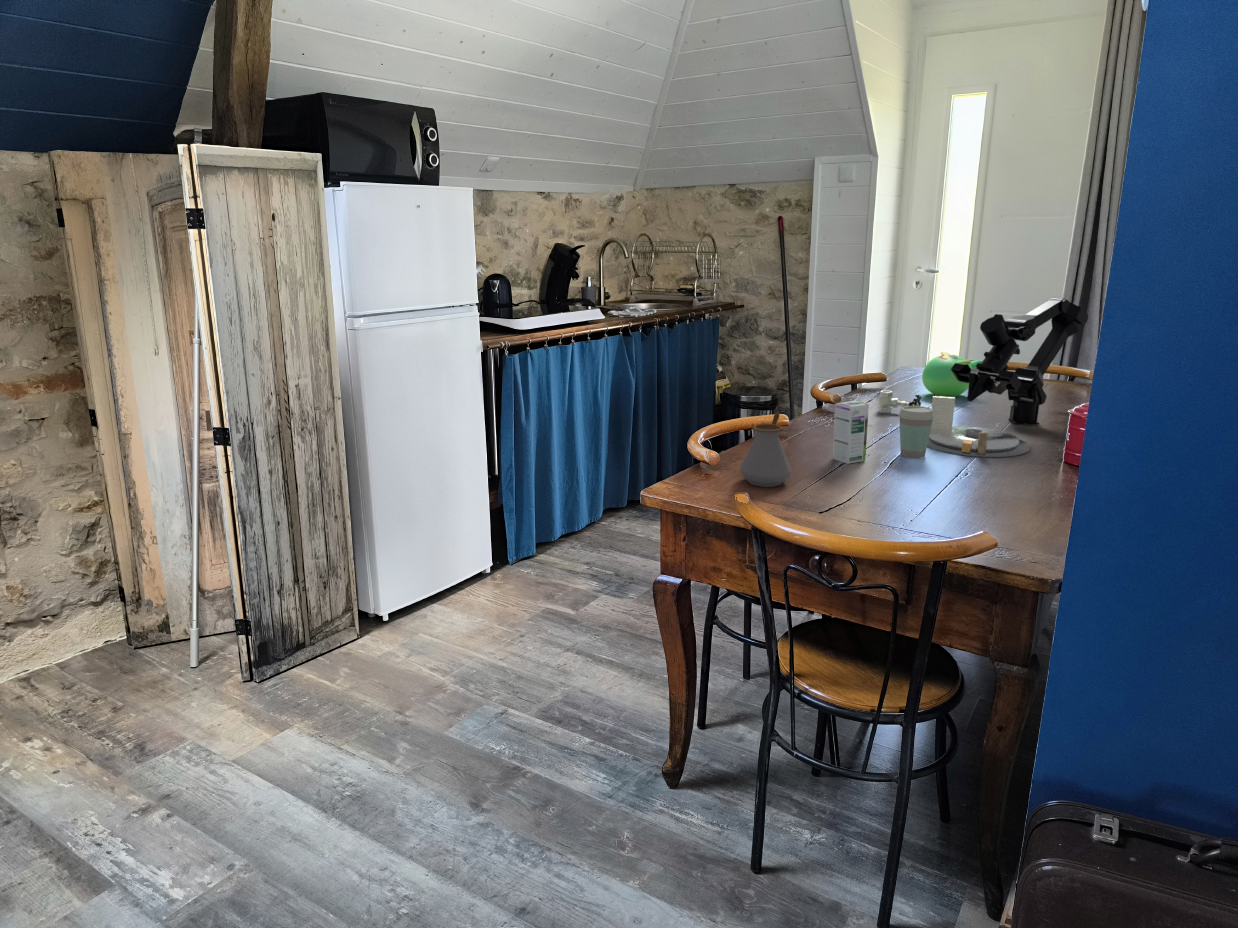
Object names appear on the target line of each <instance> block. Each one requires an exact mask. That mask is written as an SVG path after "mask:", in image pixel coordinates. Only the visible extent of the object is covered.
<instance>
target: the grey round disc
mask: <svg viewBox="0 0 1238 928" xmlns="http://www.w3.org/2000/svg"><path fill="white" fill-rule="evenodd" d="M1018 439H1019V446H1018V447H1017V448H1015V449H1013V450H1008V451H1000V452H986V454H985V455H984V456H981V455H977V451H971V452H970V453H967V452H962V450H959V449H954V448H949V447H945V446H941V445H938V444H936V443H934V442H932V441H931V440H930V439H929V440H928V444H927V448H928V449H931V450H934V451H938V452H941V453H945V454H951V455H956V456H964V457H972V458H973V457H974V458H989V459H990V458H995V459H996V458H999V459H1000V458H1012V457H1018V456H1023V455H1026V454H1027V453H1029V452H1030V451H1031V446H1030V444H1029V443H1028V442H1026V441H1024V440H1022V439H1020V438H1018ZM1022 454H1023V455H1022Z"/></svg>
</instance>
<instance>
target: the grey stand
mask: <svg viewBox="0 0 1238 928" xmlns="http://www.w3.org/2000/svg"><path fill="white" fill-rule="evenodd" d="M955 402H956V396H954V397H942V396H938V395H935V396H934V395H932V401H931V409H932V410H933V414H934V419H933V422H932V426H931V431H930V435H929V439H930V440H931V441H932V442H934V443H936V444H938V445H941V446H945V447H949V448H954V449H959V450H962V452H967V453H970V452H971V451H977V448H978V440H979V432H987V433H988V438H987V446H986V452H1000V451H1008V450H1013V449H1015V448H1017V447H1018V446H1019V439H1020V438H1019V437H1017V436H1016V435H1015V434H1012V433H1009V432H1005V431H1002V430H997V429H993V428H987V427H977V426H963V425H962V426H961V425H957V426H953V423H954V413H955V406H956V405H955V404H956V403H955Z"/></svg>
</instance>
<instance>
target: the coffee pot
mask: <svg viewBox="0 0 1238 928" xmlns="http://www.w3.org/2000/svg"><path fill="white" fill-rule="evenodd" d="M782 407H783V408H784V410H782ZM785 411H786V407H785V406H783V405H782V404H779V405H777V406H776V407H775V413H774V415H773V417H772V418H773V419H772V422H771V423H760V424H755V425H753V427H752V429H753V430H754V434H755V436H754V438H753V440H752V443H751V445H750V447H749V449H748V451H747V453H746V455H745V457H744V459H743V461H742V464H741V465H740V469H739V470H740V474H741V475H742V476H743V477H742V478H744V479H745V480H747V482H748V483H749V484H751V485H754V486H757V487H765V488H768V487H772V488H773V487H777V486H781V485H782V484H783V482H785V481H786V480H787V479H788V478H790V475H791V474H792V468H791V465H790V462H789V460H788V458H787V456H786V452H785V450H784V447H783V444H782V442H781V440H780V435H781V433H782V432H783V431H784V428H783V427H782V426H781V425H778V424H777V423H778V421H779V418H780V414H781V413H784V412H785Z"/></svg>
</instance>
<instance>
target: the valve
mask: <svg viewBox="0 0 1238 928" xmlns="http://www.w3.org/2000/svg"><path fill="white" fill-rule="evenodd" d="M893 394H894V392H893V391H892V390H886V389H884V390H883V389H882V390H881V391H879V399H878V412H879V413H881V414H891V413H892V408H894V409H898V407H900V406H901V408H902V407H905V406H922V401H921V399H922V396H921V395H920V394H915V397H914V398H913V399H912V401H911V400H910V401H907V400H900V399H899V398H897V397H894V398H893Z"/></svg>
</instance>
